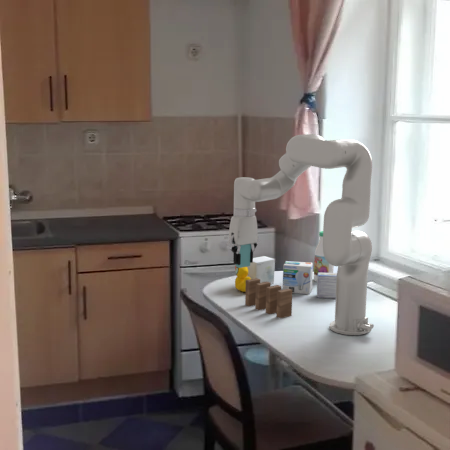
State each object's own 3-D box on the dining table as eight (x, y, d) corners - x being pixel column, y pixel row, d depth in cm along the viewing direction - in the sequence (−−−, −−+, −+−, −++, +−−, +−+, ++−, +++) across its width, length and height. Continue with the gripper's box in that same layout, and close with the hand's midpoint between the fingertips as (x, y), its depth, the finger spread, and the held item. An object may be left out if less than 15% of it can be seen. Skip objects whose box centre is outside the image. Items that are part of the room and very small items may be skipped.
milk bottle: (322, 277, 284) (324, 229, 280) (336, 281, 278) (339, 232, 274) (309, 280, 279) (311, 231, 275) (323, 284, 273) (325, 234, 269)
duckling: (229, 287, 266) (229, 262, 264) (241, 286, 269) (242, 261, 267) (242, 295, 256) (243, 269, 254) (255, 293, 258) (256, 267, 257)
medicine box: (338, 295, 258) (339, 272, 256) (338, 298, 254) (339, 275, 252) (316, 294, 259) (317, 272, 257) (317, 298, 254) (317, 275, 253)
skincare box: (255, 288, 265) (256, 262, 263) (244, 285, 270) (244, 259, 268) (274, 284, 272) (275, 258, 270) (263, 281, 277) (263, 255, 275)
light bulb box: (281, 292, 261) (282, 264, 259) (284, 287, 268) (285, 260, 266) (310, 294, 259) (311, 266, 257) (312, 289, 265) (313, 262, 263)
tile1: (291, 315, 233) (292, 289, 232) (280, 318, 230) (281, 292, 229) (287, 314, 235) (288, 288, 233) (276, 316, 232) (277, 290, 230)
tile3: (269, 307, 242) (270, 282, 240) (259, 310, 239) (259, 284, 237) (266, 306, 243) (266, 281, 242) (255, 308, 240) (255, 283, 239)
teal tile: (235, 266, 247) (236, 242, 245) (246, 264, 250) (247, 240, 248) (239, 267, 245) (239, 243, 243) (250, 265, 248) (250, 241, 246)
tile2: (280, 311, 237) (281, 286, 236) (269, 314, 234) (270, 288, 233) (276, 310, 239) (277, 284, 237) (265, 312, 236) (266, 287, 234)
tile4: (259, 303, 246) (260, 279, 244) (248, 306, 243) (249, 281, 241) (256, 302, 248) (256, 278, 246) (245, 304, 245) (245, 280, 243)
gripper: (255, 209, 252) (254, 257, 255) (218, 213, 242) (217, 264, 245) (269, 212, 246) (268, 261, 249) (231, 216, 236) (230, 268, 239)
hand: (243, 262), depth 247 cm, fingers closed on teal tile, 4 cm apart
